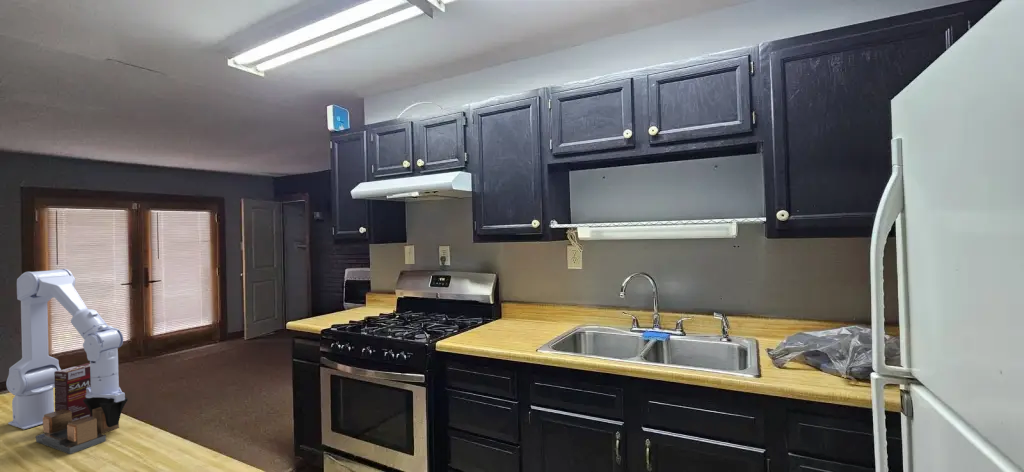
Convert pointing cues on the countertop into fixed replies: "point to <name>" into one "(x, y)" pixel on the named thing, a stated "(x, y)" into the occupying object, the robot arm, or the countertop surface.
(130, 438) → the countertop surface
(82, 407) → the supplement box
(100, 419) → the brown wooden block
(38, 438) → the rail
